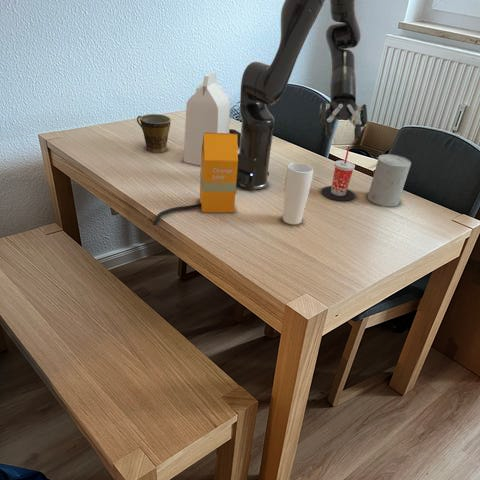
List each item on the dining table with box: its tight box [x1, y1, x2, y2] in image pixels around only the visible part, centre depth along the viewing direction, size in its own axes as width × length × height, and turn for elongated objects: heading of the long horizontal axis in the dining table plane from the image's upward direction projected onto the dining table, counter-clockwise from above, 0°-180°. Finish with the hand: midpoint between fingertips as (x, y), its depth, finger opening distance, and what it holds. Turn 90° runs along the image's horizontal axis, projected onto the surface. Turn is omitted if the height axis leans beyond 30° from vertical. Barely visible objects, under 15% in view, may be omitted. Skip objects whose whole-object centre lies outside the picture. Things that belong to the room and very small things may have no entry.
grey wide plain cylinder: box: [367, 153, 412, 208], centre depth 142 cm, size 10×10×12 cm
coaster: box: [321, 185, 355, 202], centre depth 146 cm, size 10×10×1 cm
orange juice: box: [199, 133, 239, 213], centre depth 127 cm, size 8×9×20 cm
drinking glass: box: [281, 162, 314, 226], centre depth 125 cm, size 7×7×15 cm
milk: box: [183, 71, 231, 166], centre depth 151 cm, size 12×12×26 cm
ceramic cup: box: [136, 113, 172, 153], centre depth 160 cm, size 13×10×10 cm
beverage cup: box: [331, 146, 356, 196], centre depth 142 cm, size 6×6×14 cm
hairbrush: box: [229, 128, 241, 148], centre depth 174 cm, size 8×4×25 cm
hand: (343, 137), depth 143 cm, fingers open, 8 cm apart
